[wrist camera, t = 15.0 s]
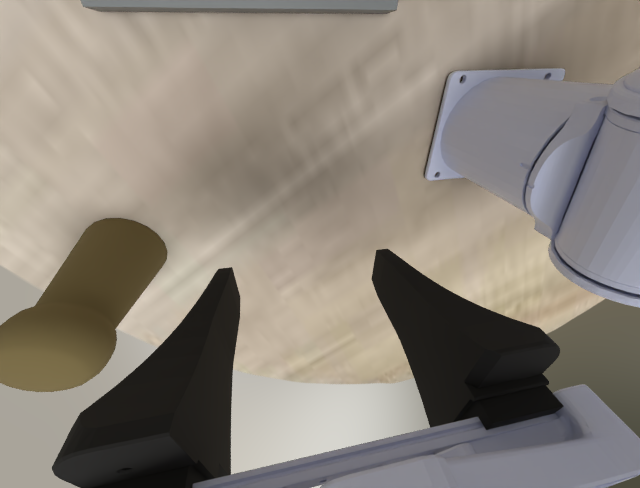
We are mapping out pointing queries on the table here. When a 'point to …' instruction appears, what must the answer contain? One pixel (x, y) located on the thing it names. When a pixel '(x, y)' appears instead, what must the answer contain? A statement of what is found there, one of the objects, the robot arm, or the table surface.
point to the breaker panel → (245, 6)
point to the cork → (80, 308)
